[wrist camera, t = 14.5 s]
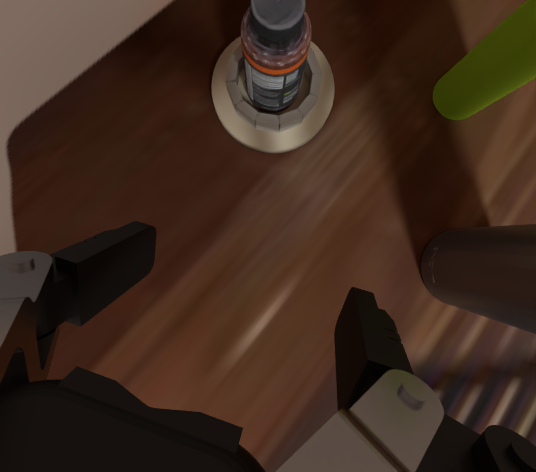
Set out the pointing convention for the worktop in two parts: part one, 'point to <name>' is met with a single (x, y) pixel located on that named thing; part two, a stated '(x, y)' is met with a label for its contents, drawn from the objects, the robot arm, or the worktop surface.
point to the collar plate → (264, 123)
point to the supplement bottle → (274, 51)
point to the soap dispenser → (491, 67)
